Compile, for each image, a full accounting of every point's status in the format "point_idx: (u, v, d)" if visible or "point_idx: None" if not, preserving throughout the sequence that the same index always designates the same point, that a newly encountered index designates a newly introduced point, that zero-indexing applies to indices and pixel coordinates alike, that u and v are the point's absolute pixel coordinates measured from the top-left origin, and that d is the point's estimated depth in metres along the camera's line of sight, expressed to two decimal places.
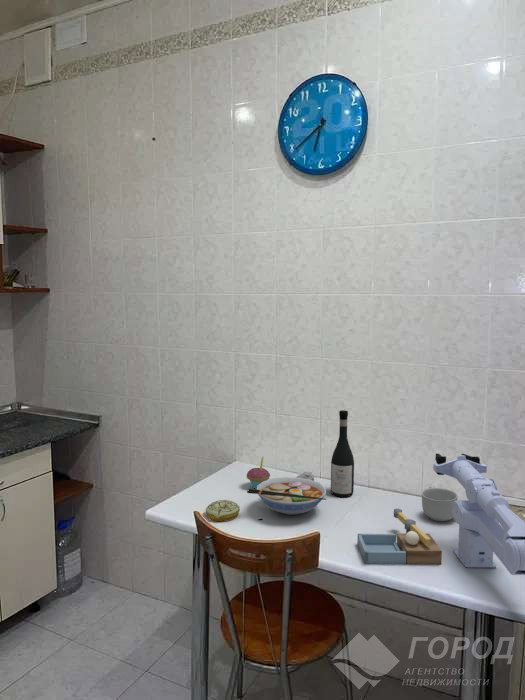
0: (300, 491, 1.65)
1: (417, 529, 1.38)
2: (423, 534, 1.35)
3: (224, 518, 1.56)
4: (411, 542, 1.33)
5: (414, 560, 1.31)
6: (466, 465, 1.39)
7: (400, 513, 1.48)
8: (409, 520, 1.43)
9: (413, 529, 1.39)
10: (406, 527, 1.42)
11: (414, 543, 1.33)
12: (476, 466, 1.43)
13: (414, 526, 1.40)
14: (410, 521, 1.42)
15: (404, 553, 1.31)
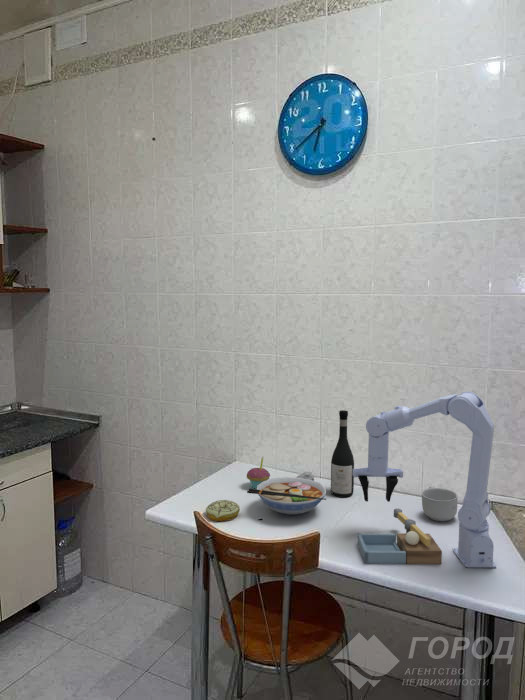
0: (300, 491, 1.65)
1: (417, 529, 1.38)
2: (423, 534, 1.35)
3: (224, 518, 1.56)
4: (411, 542, 1.33)
5: (414, 560, 1.31)
6: None
7: (400, 513, 1.48)
8: (409, 520, 1.43)
9: (413, 529, 1.39)
10: (406, 527, 1.42)
11: (414, 543, 1.33)
12: (391, 470, 1.50)
13: (414, 526, 1.40)
14: (410, 521, 1.42)
15: (404, 553, 1.31)
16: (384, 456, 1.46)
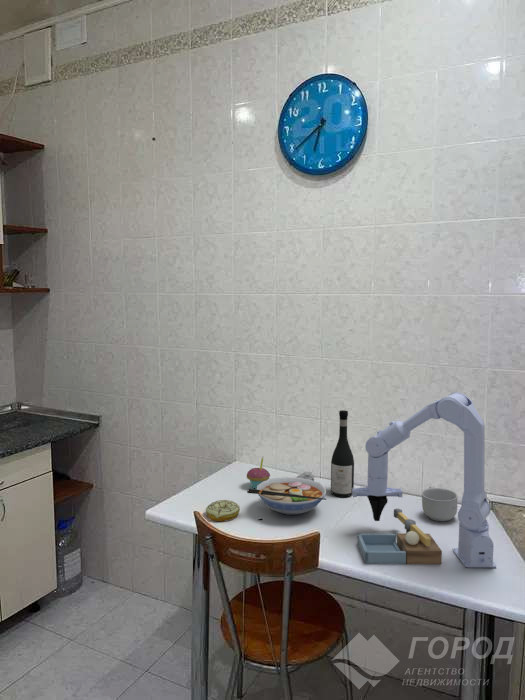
0: (300, 491, 1.65)
1: (417, 529, 1.38)
2: (423, 534, 1.35)
3: (224, 518, 1.56)
4: (411, 542, 1.33)
5: (414, 560, 1.31)
6: None
7: (400, 513, 1.48)
8: (409, 520, 1.43)
9: (413, 529, 1.39)
10: (406, 527, 1.42)
11: (414, 543, 1.33)
12: (391, 489, 1.50)
13: (414, 526, 1.40)
14: (410, 521, 1.42)
15: (404, 553, 1.31)
16: (383, 476, 1.46)
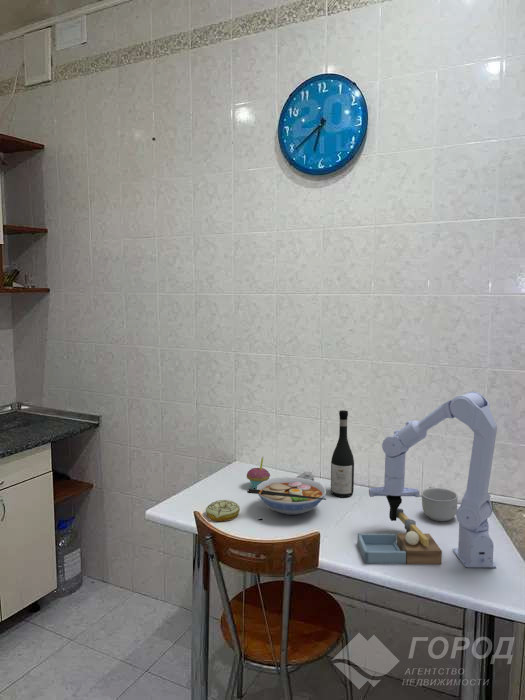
0: (300, 491, 1.65)
1: (416, 529, 1.38)
2: (422, 534, 1.35)
3: (224, 518, 1.56)
4: (411, 542, 1.33)
5: (414, 560, 1.31)
6: None
7: (401, 513, 1.48)
8: (409, 520, 1.43)
9: (412, 529, 1.39)
10: (406, 527, 1.42)
11: (414, 543, 1.33)
12: (408, 489, 1.50)
13: (414, 526, 1.40)
14: (410, 521, 1.42)
15: (404, 553, 1.31)
16: (400, 476, 1.46)
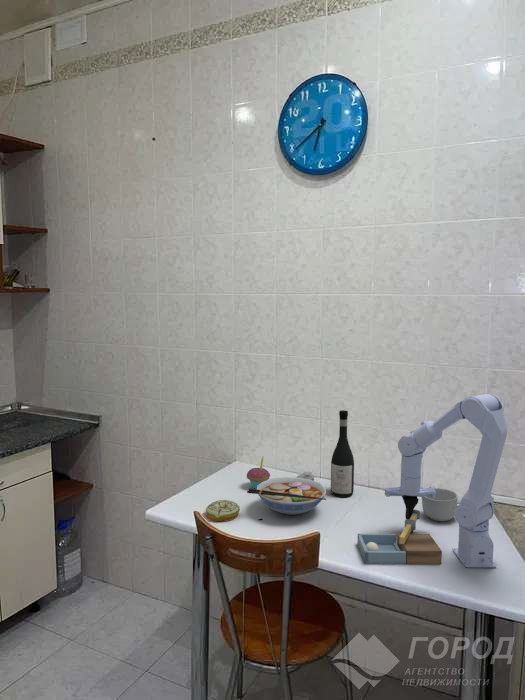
0: (300, 491, 1.65)
1: (406, 528, 1.38)
2: (404, 533, 1.36)
3: (224, 518, 1.56)
4: None
5: (414, 560, 1.31)
6: None
7: (414, 514, 1.48)
8: (411, 520, 1.43)
9: None
10: None
11: None
12: (424, 489, 1.50)
13: (407, 525, 1.40)
14: (410, 521, 1.42)
15: (404, 553, 1.31)
16: (415, 476, 1.46)
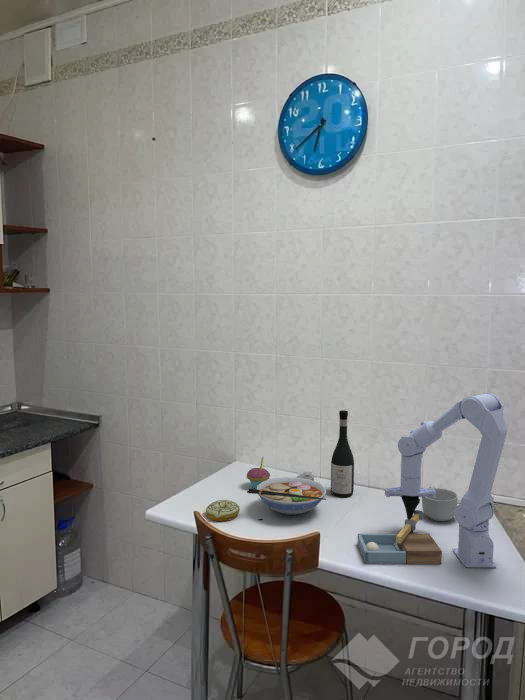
0: (300, 491, 1.65)
1: (404, 528, 1.39)
2: (401, 532, 1.36)
3: (224, 518, 1.56)
4: None
5: (414, 560, 1.31)
6: None
7: (416, 514, 1.48)
8: (411, 520, 1.43)
9: None
10: None
11: None
12: (424, 489, 1.50)
13: (407, 525, 1.40)
14: (410, 521, 1.42)
15: (404, 553, 1.31)
16: (415, 476, 1.46)
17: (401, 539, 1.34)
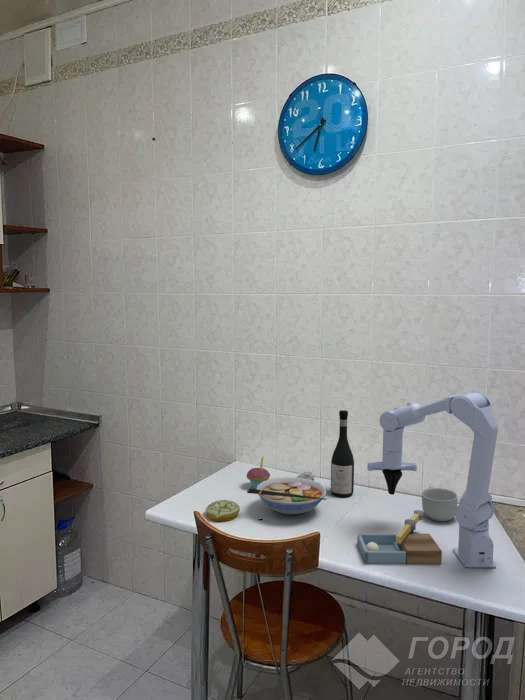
0: (300, 491, 1.65)
1: (404, 528, 1.39)
2: (401, 532, 1.36)
3: (224, 518, 1.56)
4: None
5: (414, 560, 1.31)
6: None
7: (416, 514, 1.48)
8: (411, 520, 1.43)
9: None
10: None
11: None
12: (405, 464, 1.54)
13: (407, 525, 1.40)
14: (410, 521, 1.42)
15: (404, 553, 1.31)
16: (396, 450, 1.50)
17: (401, 539, 1.34)
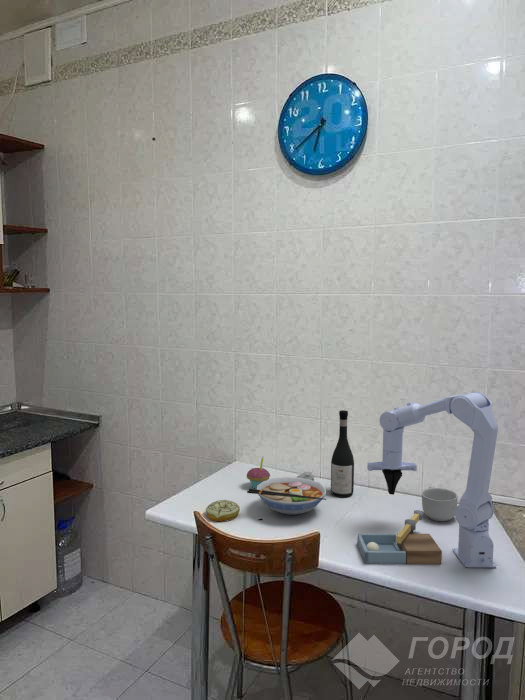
0: (300, 491, 1.65)
1: (404, 528, 1.39)
2: (401, 532, 1.36)
3: (224, 518, 1.56)
4: None
5: (414, 560, 1.31)
6: None
7: (416, 514, 1.48)
8: (411, 520, 1.43)
9: None
10: None
11: None
12: (405, 464, 1.54)
13: (407, 525, 1.40)
14: (410, 521, 1.42)
15: (404, 553, 1.31)
16: (396, 450, 1.50)
17: (401, 539, 1.34)
